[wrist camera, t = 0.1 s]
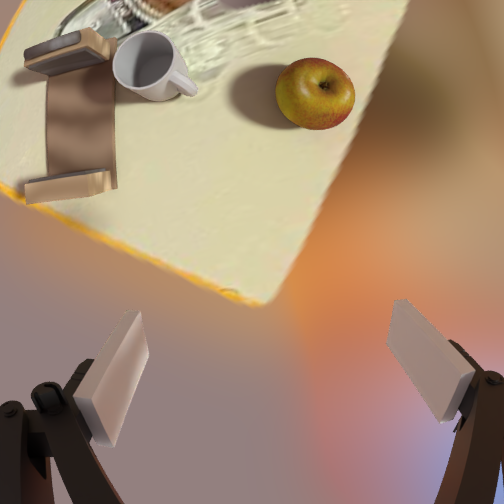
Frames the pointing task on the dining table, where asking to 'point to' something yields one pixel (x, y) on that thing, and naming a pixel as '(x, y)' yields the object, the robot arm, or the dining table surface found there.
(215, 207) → the dining table surface
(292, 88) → the fruit
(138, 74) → the cup
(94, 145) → the base
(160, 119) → the dining table surface
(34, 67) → the block
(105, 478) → the robot arm
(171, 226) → the dining table surface
